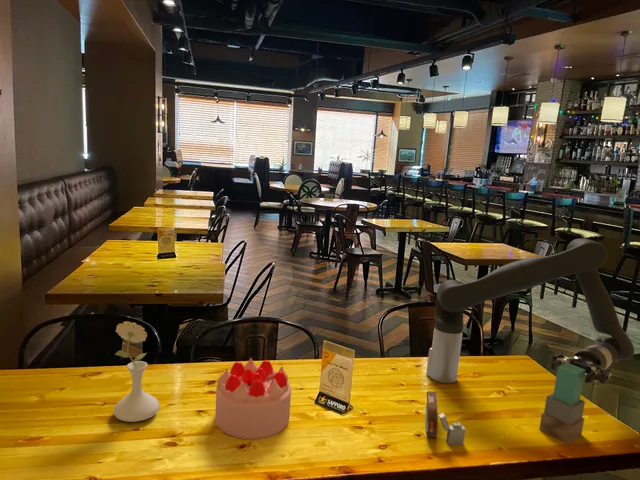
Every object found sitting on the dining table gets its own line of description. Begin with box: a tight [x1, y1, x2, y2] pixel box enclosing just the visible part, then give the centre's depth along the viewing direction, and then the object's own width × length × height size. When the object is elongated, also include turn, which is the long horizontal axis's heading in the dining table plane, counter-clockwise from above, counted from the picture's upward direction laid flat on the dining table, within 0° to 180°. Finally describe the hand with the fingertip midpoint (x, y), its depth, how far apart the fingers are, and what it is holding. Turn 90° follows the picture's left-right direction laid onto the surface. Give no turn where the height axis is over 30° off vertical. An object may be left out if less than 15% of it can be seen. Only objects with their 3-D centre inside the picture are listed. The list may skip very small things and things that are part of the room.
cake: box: [214, 357, 292, 441], centre depth 123 cm, size 20×20×14 cm
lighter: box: [438, 412, 466, 446], centre depth 119 cm, size 7×2×8 cm, turn 98°
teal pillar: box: [552, 363, 585, 405], centre depth 125 cm, size 5×5×9 cm
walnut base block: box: [539, 412, 585, 445], centre depth 127 cm, size 8×8×5 cm
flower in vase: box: [113, 321, 161, 423], centre depth 120 cm, size 13×11×25 cm
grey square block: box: [543, 392, 586, 426], centre depth 127 cm, size 7×7×5 cm
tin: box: [425, 390, 439, 438], centre depth 125 cm, size 15×3×8 cm, turn 168°
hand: (569, 373), depth 125 cm, fingers open, 8 cm apart
